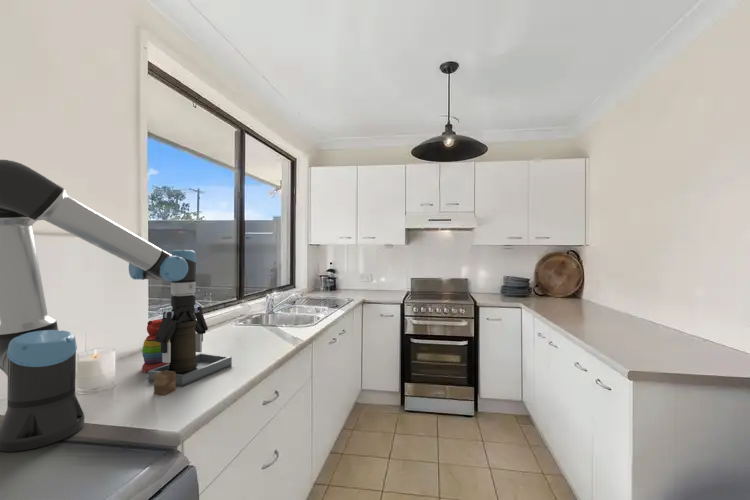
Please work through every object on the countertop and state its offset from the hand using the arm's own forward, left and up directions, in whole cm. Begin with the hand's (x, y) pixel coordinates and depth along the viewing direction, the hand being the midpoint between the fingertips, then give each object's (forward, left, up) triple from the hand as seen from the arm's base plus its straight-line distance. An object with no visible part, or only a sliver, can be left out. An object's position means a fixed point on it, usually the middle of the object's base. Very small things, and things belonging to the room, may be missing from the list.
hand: (183, 356), depth 121 cm
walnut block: (-12, -6, -7) cm, 15 cm away
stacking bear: (+5, +18, -7) cm, 20 cm away
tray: (+4, 0, -7) cm, 8 cm away
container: (0, 0, -6) cm, 6 cm away
